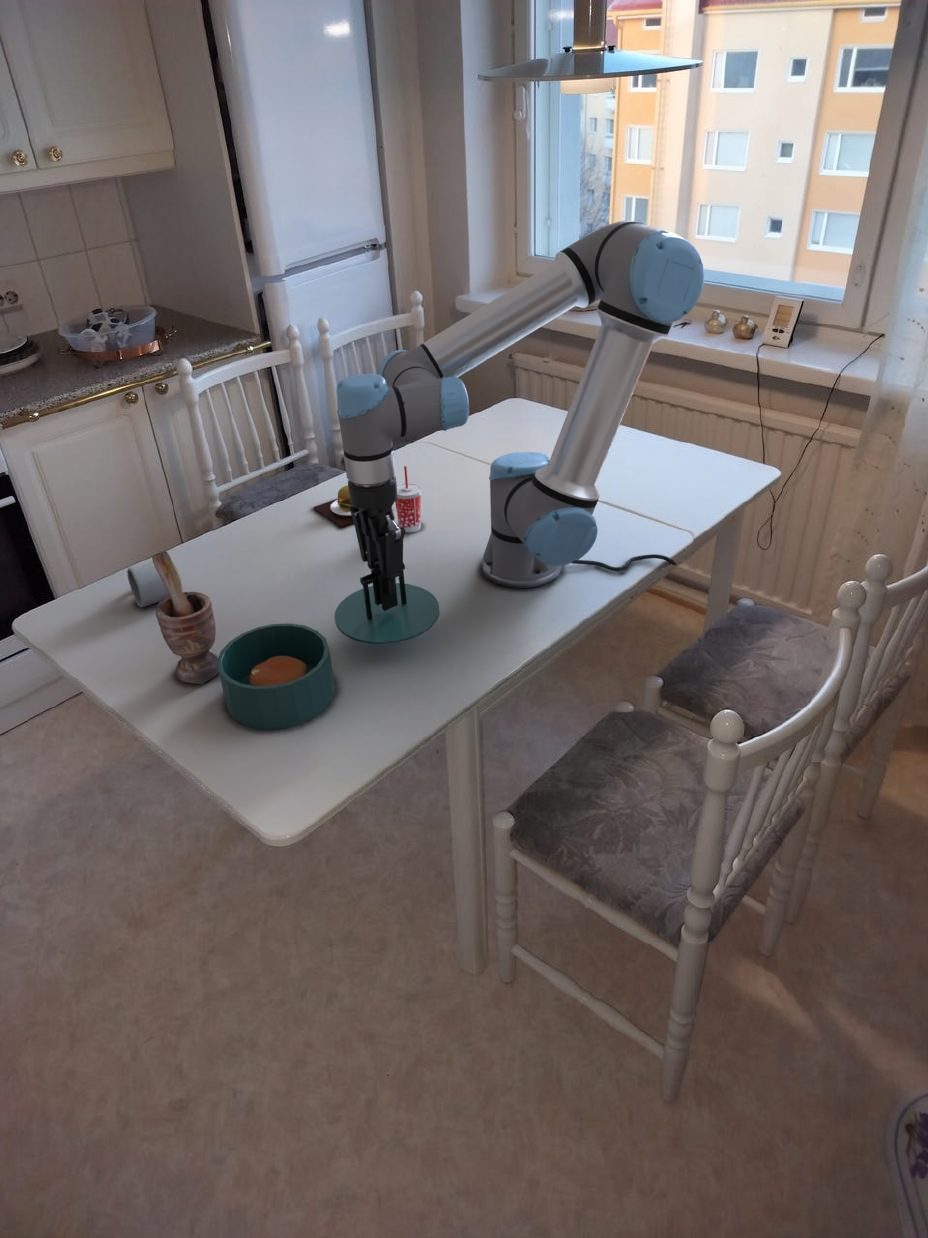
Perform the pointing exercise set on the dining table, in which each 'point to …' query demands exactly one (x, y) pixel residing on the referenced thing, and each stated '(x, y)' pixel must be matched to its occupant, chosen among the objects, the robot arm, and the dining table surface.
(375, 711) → the dining table surface
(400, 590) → the lid
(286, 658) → the burger
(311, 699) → the pot
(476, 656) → the dining table surface
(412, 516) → the beverage cup
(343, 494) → the hamburger
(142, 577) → the ceramic mug
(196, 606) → the mortar and pestle
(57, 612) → the dining table surface
